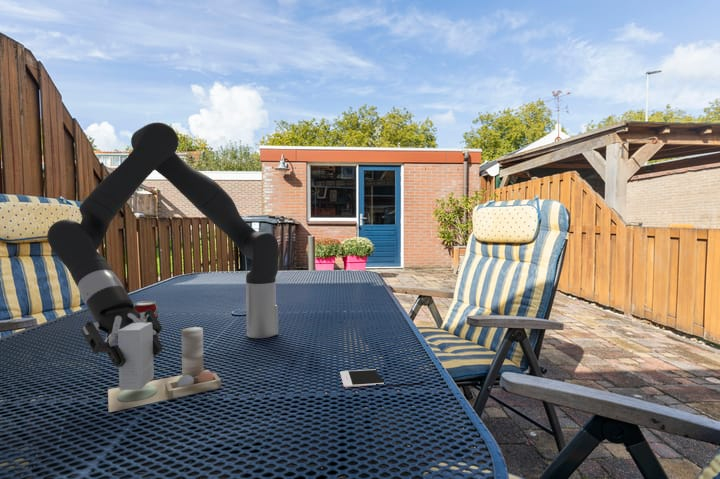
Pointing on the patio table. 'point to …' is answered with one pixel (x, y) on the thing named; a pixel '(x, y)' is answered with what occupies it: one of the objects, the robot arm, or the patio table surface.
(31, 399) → the patio table surface
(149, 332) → the skincare box
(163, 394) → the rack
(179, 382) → the ball
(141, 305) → the soda can
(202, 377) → the ball
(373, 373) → the cell phone
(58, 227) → the robot arm
